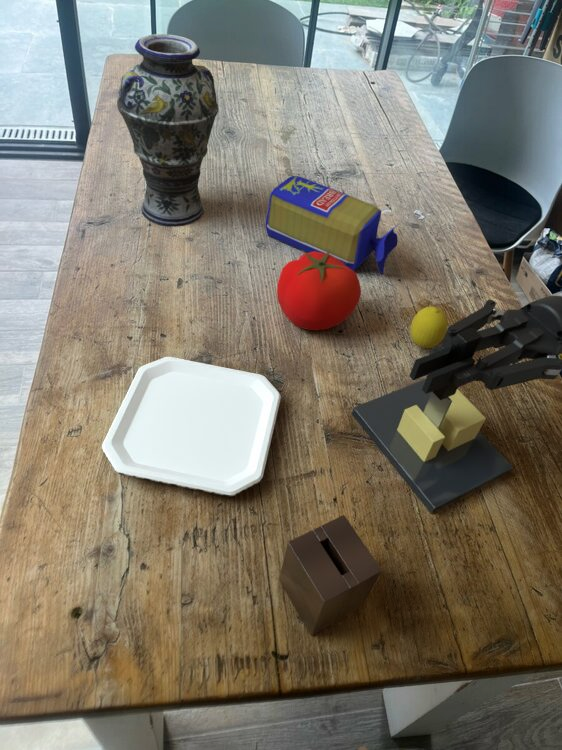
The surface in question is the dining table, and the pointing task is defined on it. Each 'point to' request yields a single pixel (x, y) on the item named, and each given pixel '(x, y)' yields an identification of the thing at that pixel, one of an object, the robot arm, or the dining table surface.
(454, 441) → the butter
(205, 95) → the vase
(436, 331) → the lemon
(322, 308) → the tomato
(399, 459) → the board
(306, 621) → the knife block
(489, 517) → the dining table surface
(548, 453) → the dining table surface
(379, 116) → the dining table surface
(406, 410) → the butter slice
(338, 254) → the bread
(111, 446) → the plate
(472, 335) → the knife
